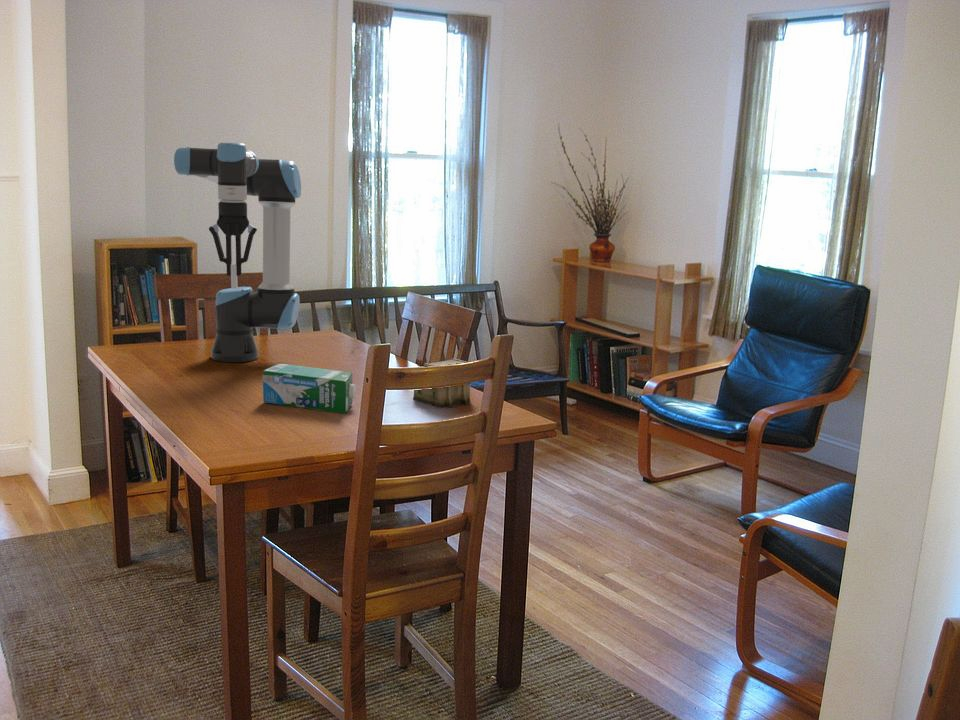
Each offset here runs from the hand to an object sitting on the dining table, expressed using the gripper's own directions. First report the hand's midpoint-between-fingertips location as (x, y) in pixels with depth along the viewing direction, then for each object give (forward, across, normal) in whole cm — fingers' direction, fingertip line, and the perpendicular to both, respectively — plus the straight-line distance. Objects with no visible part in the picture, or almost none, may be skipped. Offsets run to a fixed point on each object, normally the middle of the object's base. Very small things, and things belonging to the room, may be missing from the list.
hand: (234, 287), depth 262 cm
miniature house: (+31, +58, -7) cm, 66 cm away
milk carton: (+26, +10, -6) cm, 28 cm away
